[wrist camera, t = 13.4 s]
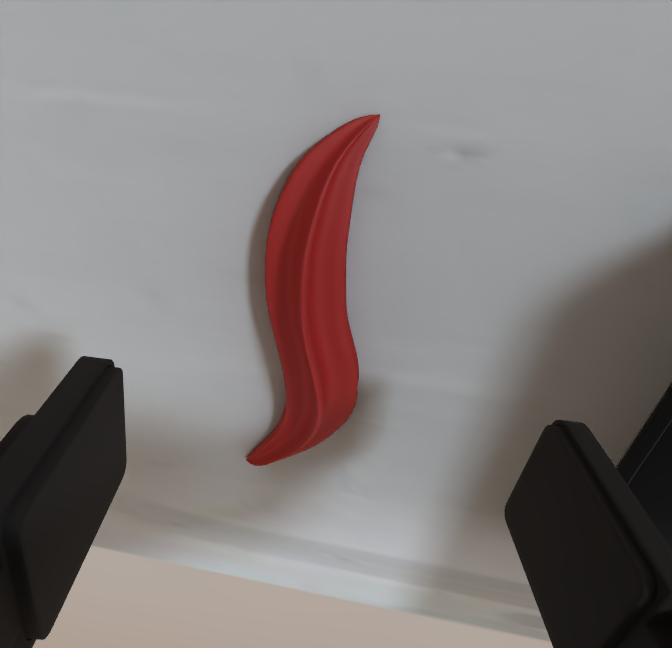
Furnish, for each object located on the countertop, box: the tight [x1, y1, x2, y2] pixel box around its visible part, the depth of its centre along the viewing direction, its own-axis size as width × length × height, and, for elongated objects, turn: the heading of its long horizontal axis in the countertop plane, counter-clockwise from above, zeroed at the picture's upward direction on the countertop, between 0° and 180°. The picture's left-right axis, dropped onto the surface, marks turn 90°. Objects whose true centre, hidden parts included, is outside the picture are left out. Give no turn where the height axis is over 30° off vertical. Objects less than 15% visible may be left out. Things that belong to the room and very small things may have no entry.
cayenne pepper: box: [246, 114, 380, 466], centre depth 14 cm, size 12×5×2 cm, turn 155°
